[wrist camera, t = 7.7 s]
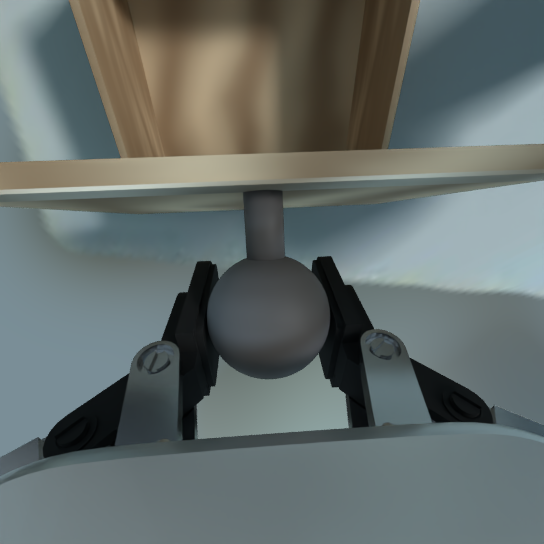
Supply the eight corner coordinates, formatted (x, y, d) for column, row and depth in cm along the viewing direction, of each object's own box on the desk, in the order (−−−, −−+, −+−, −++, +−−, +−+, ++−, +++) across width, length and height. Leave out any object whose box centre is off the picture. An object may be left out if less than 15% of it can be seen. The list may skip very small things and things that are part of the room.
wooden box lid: (673, 136, 6) (614, 384, 8) (376, 196, 22) (374, 273, 23) (-211, 166, 5) (-106, 438, 7) (137, 206, 21) (148, 286, 22)
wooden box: (376, -48, 20) (447, -125, 13) (346, 168, 29) (377, 195, 22) (111, -47, 19) (26, -129, 12) (166, 175, 29) (136, 205, 21)
